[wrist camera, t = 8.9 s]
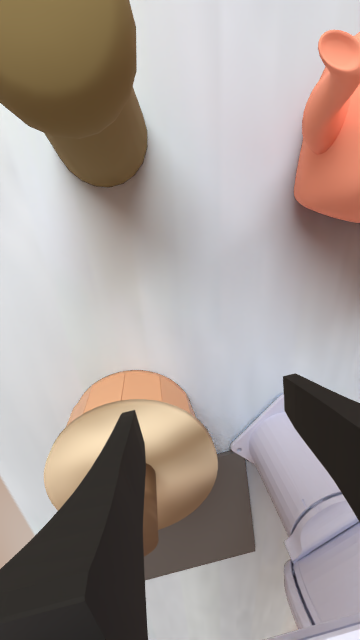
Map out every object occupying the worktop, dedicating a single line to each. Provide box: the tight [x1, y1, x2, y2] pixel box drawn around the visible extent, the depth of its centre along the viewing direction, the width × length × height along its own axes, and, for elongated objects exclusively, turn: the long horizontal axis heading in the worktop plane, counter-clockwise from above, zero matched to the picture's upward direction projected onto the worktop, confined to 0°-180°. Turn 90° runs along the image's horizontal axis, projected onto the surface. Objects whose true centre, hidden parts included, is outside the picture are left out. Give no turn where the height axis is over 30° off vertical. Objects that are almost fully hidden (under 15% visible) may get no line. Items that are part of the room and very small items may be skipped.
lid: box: [44, 399, 218, 556], centre depth 18 cm, size 13×13×5 cm
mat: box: [144, 451, 255, 580], centre depth 30 cm, size 16×17×1 cm
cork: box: [0, 0, 147, 187], centre depth 12 cm, size 6×6×11 cm
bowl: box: [67, 370, 196, 426], centre depth 22 cm, size 11×11×4 cm
